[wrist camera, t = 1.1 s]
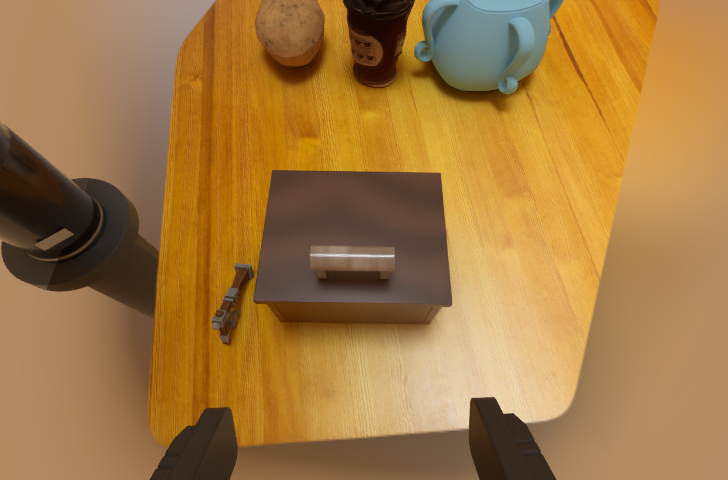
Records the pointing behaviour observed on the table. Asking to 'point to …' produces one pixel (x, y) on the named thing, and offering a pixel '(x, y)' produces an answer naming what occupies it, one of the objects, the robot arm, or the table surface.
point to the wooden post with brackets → (231, 303)
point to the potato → (290, 30)
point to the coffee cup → (377, 37)
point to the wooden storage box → (354, 314)
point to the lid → (354, 240)
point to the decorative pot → (485, 41)
